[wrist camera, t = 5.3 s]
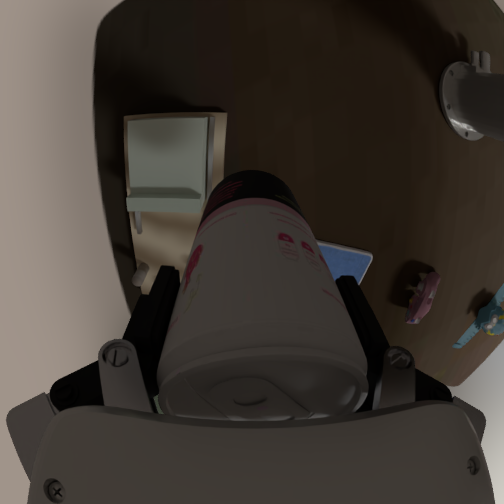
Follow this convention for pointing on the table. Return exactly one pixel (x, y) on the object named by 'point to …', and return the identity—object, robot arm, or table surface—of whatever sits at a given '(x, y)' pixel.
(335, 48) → the table surface
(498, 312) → the owl figurine
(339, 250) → the tablet computer
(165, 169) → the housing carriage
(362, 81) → the table surface
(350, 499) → the robot arm
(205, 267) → the beverage can
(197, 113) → the base board
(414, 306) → the video game controller
